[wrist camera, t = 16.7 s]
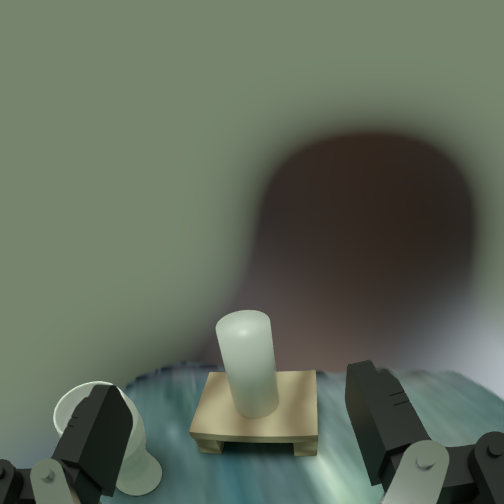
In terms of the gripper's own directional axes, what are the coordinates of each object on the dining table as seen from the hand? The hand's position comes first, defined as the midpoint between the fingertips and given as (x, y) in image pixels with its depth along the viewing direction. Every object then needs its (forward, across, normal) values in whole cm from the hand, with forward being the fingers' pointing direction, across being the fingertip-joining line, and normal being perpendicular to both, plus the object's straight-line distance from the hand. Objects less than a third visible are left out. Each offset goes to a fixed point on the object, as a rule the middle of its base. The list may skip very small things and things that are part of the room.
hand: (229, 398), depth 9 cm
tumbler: (+21, +1, +24) cm, 32 cm away
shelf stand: (+21, +1, +30) cm, 37 cm away
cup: (+12, +19, +30) cm, 38 cm away
